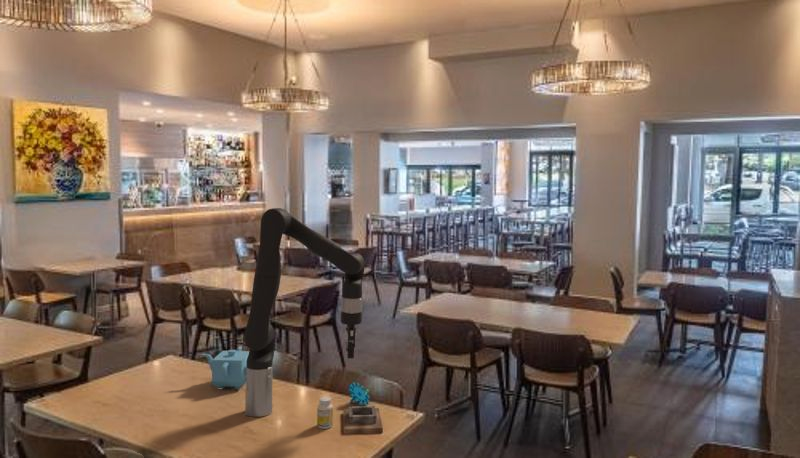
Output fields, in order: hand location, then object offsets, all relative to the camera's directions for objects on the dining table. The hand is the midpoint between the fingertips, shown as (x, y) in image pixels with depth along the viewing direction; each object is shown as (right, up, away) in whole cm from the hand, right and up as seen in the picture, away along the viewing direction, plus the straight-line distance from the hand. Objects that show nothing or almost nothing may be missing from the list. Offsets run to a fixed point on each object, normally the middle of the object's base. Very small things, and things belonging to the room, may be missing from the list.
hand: (349, 354), depth 207 cm
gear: (+2, -23, +16) cm, 28 cm away
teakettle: (-52, -20, +35) cm, 66 cm away
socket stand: (+5, -23, -2) cm, 24 cm away
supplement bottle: (-8, -24, -6) cm, 26 cm away
